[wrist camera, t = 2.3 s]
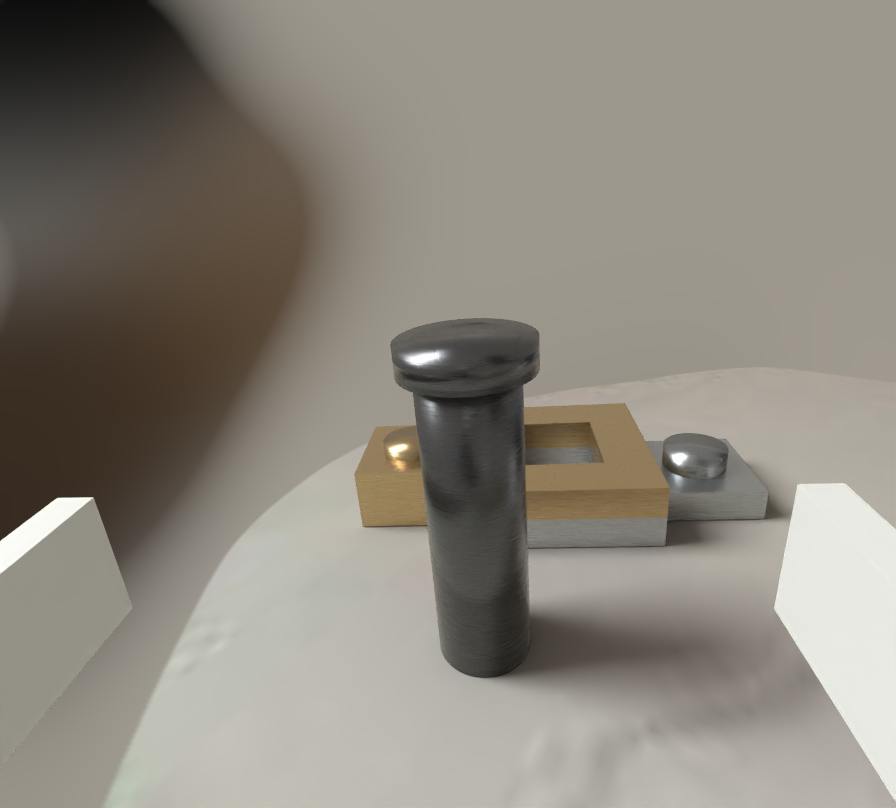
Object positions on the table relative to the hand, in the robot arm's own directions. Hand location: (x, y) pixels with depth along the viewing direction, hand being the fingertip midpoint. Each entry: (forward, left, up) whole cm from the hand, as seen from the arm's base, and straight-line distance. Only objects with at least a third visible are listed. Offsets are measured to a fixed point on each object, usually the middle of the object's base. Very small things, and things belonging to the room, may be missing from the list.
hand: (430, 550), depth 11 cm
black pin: (0, -10, -13) cm, 17 cm away
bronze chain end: (-1, -22, -13) cm, 26 cm away
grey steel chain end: (-7, -22, -13) cm, 27 cm away
